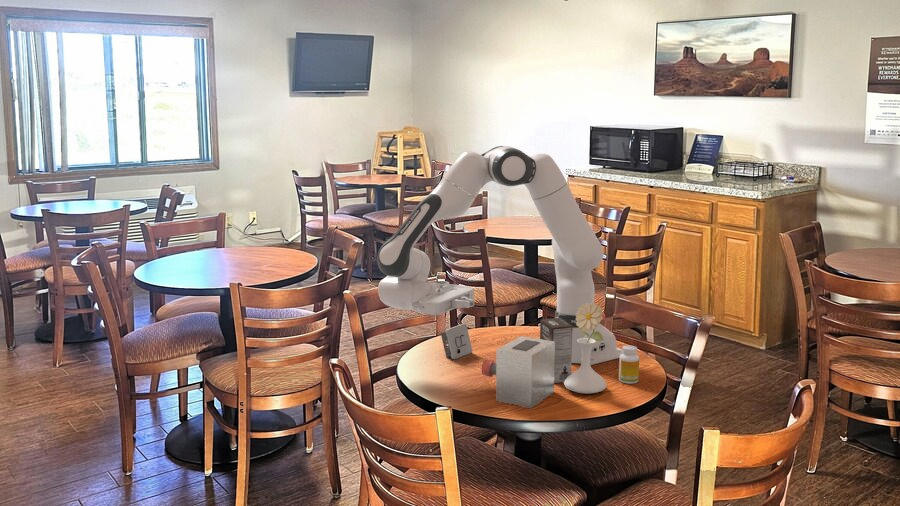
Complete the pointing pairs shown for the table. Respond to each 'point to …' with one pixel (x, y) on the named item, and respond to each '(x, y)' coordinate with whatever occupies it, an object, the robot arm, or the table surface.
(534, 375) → the box
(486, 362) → the breaker plunger
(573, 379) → the flower in vase
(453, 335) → the electrical switch
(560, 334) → the coffee box
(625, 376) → the supplement bottle
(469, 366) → the table surface
